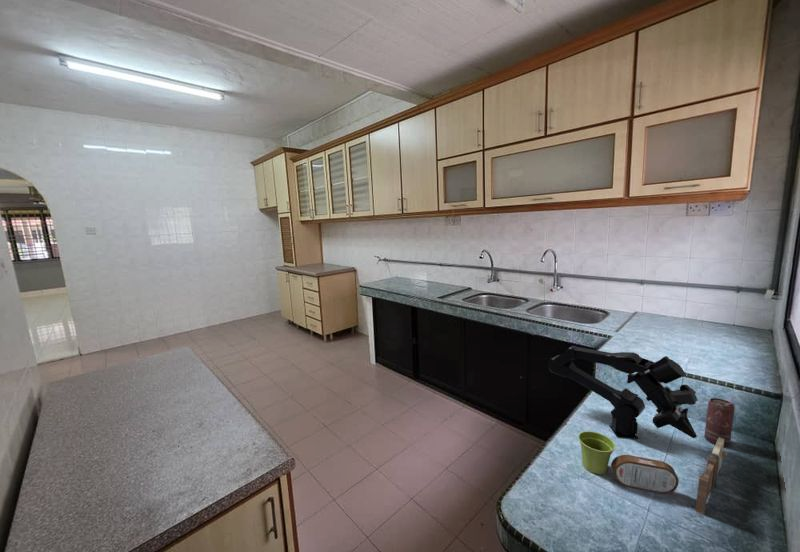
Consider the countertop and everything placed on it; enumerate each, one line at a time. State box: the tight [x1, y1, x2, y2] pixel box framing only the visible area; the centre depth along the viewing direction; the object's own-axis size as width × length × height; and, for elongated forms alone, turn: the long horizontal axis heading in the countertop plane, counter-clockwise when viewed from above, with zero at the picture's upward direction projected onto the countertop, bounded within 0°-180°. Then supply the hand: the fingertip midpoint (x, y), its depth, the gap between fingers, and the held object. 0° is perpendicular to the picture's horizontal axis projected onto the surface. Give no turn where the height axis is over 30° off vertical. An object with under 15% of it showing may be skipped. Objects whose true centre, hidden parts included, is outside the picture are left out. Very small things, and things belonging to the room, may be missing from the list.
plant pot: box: [577, 430, 616, 475], centre depth 97 cm, size 9×9×9 cm
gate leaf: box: [708, 437, 729, 489], centre depth 92 cm, size 13×3×9 cm, turn 129°
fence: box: [695, 456, 717, 515], centre depth 84 cm, size 12×2×9 cm, turn 129°
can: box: [703, 397, 736, 448], centre depth 107 cm, size 6×6×14 cm
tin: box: [610, 454, 680, 494], centre depth 89 cm, size 15×3×8 cm, turn 71°
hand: (695, 437), depth 98 cm, fingers closed
